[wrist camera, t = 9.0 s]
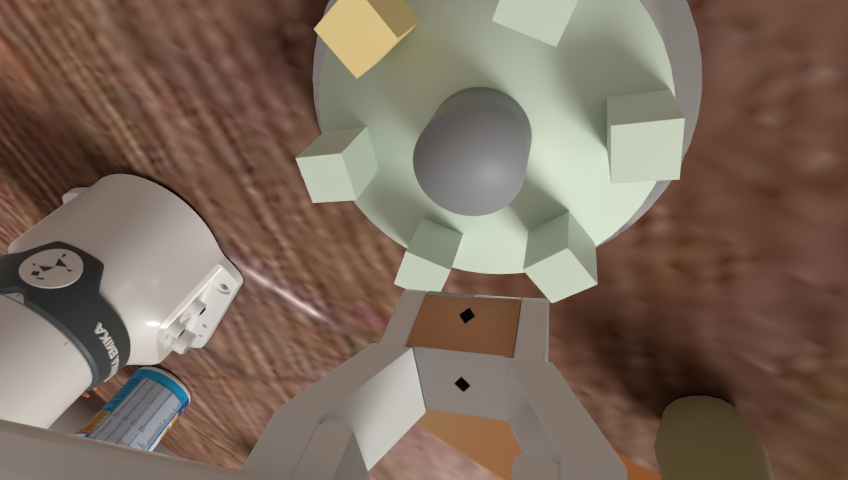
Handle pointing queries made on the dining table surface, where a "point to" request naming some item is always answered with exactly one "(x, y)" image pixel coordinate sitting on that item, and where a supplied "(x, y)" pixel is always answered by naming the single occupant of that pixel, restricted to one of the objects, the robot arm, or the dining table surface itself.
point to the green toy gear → (494, 131)
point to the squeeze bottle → (708, 443)
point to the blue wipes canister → (140, 410)
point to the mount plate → (685, 60)
